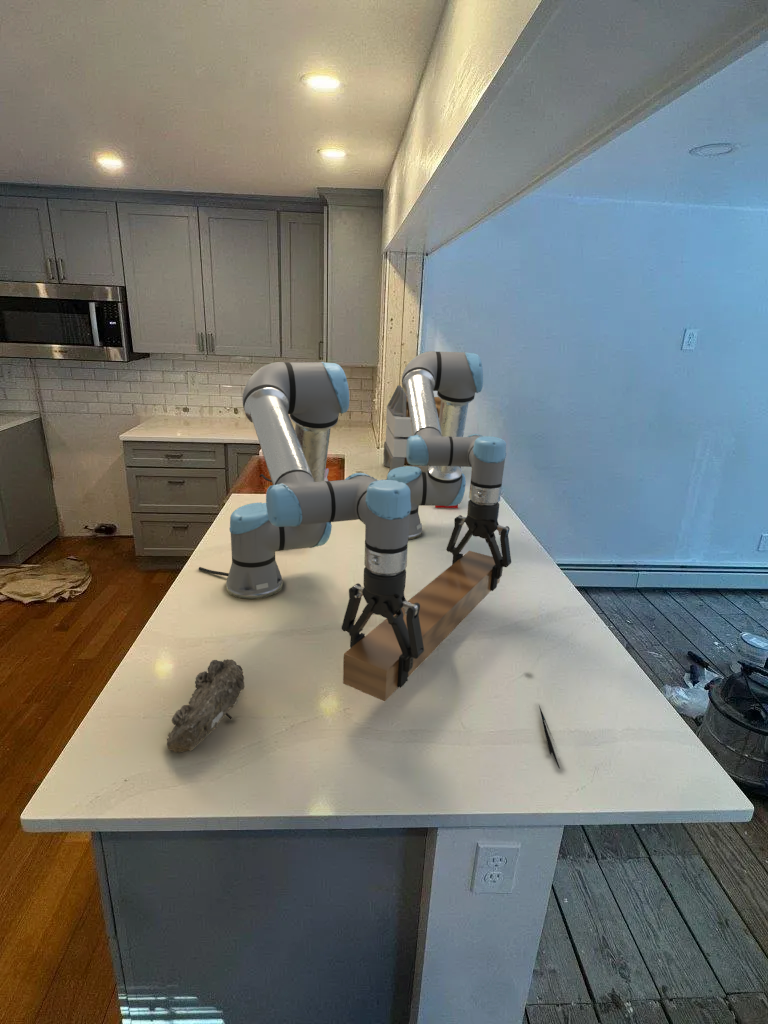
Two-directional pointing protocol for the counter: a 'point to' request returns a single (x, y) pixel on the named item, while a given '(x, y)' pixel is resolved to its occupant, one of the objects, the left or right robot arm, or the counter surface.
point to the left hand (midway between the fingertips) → (379, 674)
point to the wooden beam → (439, 615)
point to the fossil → (206, 705)
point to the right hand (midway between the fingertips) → (475, 583)
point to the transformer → (399, 429)
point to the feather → (548, 737)
